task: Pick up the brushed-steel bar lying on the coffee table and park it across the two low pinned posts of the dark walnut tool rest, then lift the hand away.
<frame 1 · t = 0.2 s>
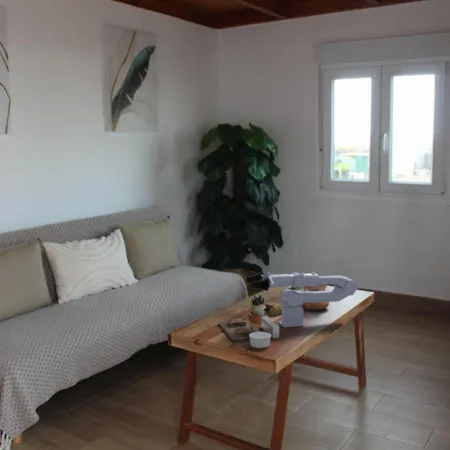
hand: (249, 282, 267), 21 cm above the table, tool horizontal, fingers open, 7 cm apart
ramekin: (260, 345, 249), on the table
steel bar: (270, 332, 265), on the table
clay incense burner: (314, 308, 301), on the table
tool rest: (241, 331, 265), on the table
gavel: (267, 310, 299), on the table
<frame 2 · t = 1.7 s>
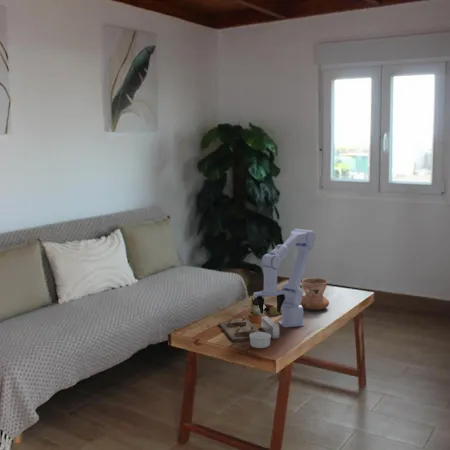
hand: (270, 312, 263), 9 cm above the table, tool pointing down, fingers open, 7 cm apart
nothing on the table moved.
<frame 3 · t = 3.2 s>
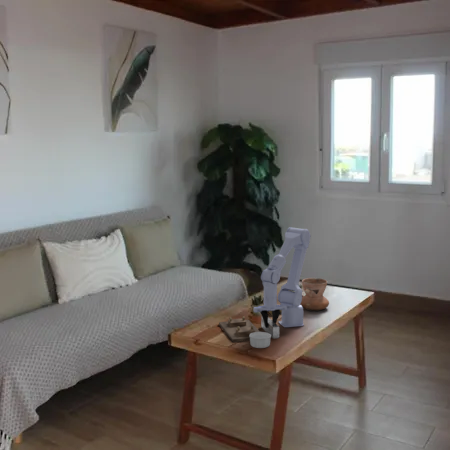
hand: (270, 326, 264), 2 cm above the table, tool pointing down, fingers closed on steel bar, 3 cm apart
steel bar: (270, 332, 265), on the table, touching gripper
everything else where it was.
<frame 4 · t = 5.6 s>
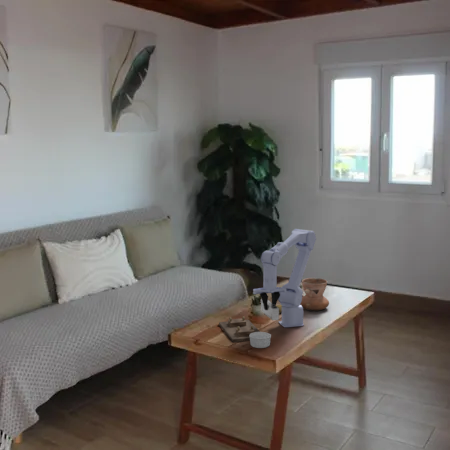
hand: (269, 309, 263), 10 cm above the table, tool pointing down, fingers closed on steel bar, 3 cm apart
steel bar: (269, 314, 263), point 8 cm above the table, touching gripper
everything else where it was.
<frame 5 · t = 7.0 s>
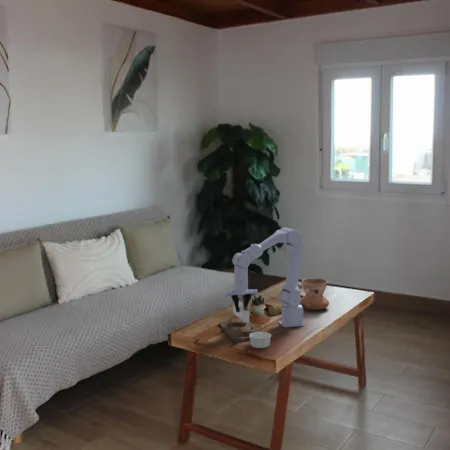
hand: (241, 311, 264), 9 cm above the table, tool pointing down, fingers closed on steel bar, 3 cm apart
steel bar: (241, 316, 264), point 7 cm above the table, touching gripper
everything else where it was.
when the fingers open (6 cm above the table, at t = 7.9 s): steel bar stays where it is, resting on tool rest.
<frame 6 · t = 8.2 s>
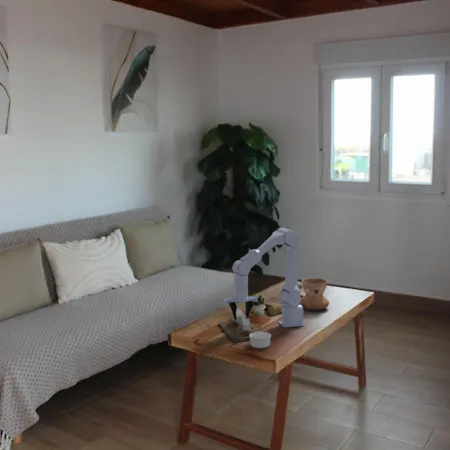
hand: (241, 318, 265), 6 cm above the table, tool pointing down, fingers open, 5 cm apart
steel bar: (241, 325, 265), point 3 cm above the table, touching tool rest
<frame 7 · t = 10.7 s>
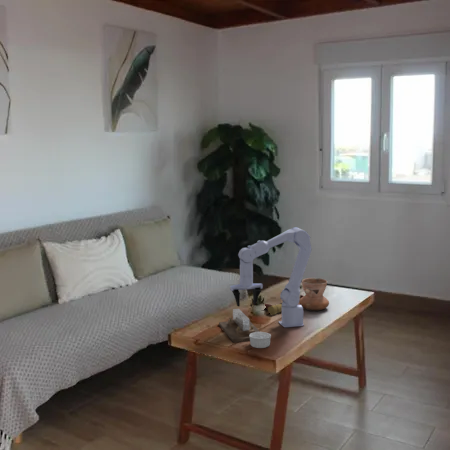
hand: (246, 305, 270), 10 cm above the table, tool pointing down, fingers open, 7 cm apart
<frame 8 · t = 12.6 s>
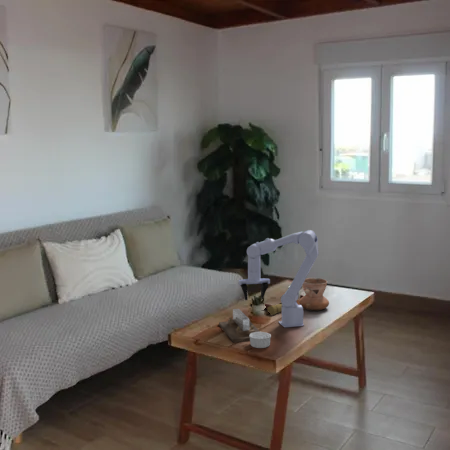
hand: (254, 299, 279), 10 cm above the table, tool pointing down, fingers open, 7 cm apart
at the end: steel bar 0.0 cm off-centre on the tool rest, point 3.0 cm above the tool rest's base; steel bar tilted 0°; the gripper is holding nothing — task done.
